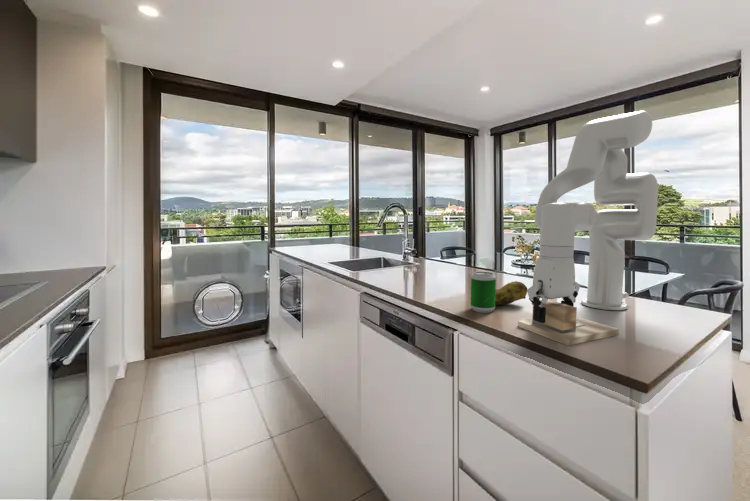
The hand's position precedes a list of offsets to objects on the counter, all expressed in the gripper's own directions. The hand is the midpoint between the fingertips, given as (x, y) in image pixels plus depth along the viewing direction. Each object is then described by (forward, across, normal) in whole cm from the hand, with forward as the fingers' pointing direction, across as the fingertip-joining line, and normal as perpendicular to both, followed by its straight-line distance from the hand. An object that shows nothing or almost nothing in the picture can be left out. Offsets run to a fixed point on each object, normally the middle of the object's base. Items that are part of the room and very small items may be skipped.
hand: (553, 319), depth 86 cm
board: (+4, -5, 0) cm, 6 cm away
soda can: (+4, +2, -24) cm, 24 cm away
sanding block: (+2, 0, 0) cm, 2 cm away
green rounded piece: (+4, -10, -26) cm, 28 cm away
